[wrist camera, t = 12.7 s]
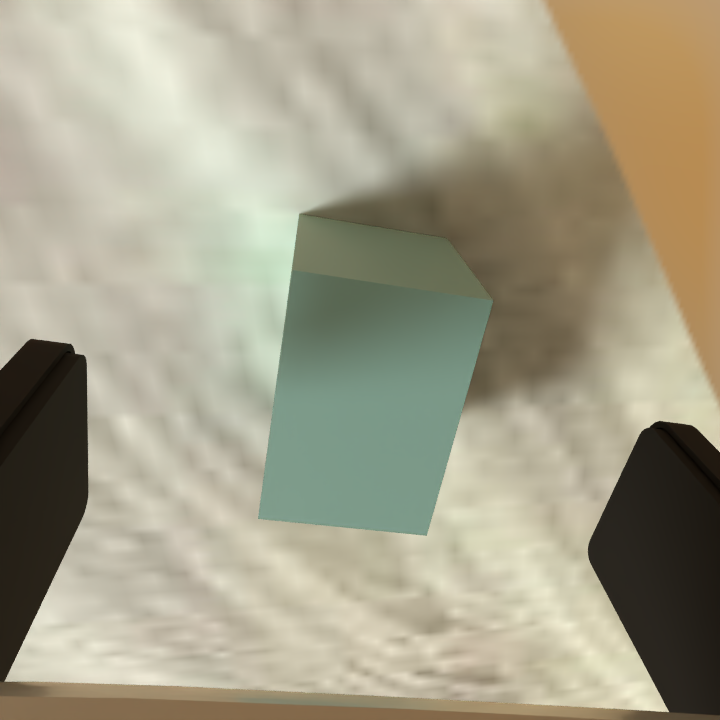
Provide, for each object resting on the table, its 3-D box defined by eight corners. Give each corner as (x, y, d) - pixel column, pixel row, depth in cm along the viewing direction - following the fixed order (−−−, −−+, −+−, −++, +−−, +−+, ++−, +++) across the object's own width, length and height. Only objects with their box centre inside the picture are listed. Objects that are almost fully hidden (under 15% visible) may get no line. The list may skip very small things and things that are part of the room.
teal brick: (401, 425, 19) (426, 535, 15) (272, 409, 19) (258, 518, 14) (446, 237, 17) (493, 300, 12) (299, 213, 16) (292, 269, 12)
